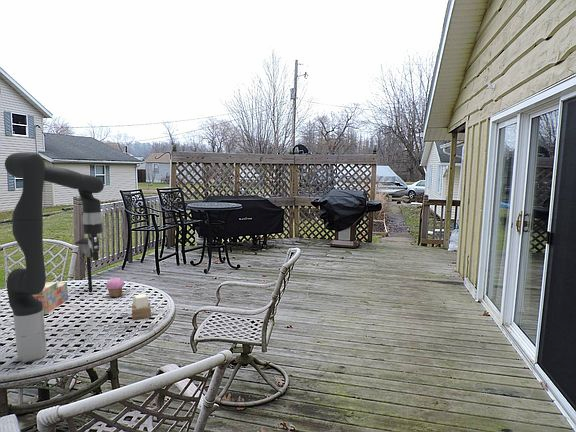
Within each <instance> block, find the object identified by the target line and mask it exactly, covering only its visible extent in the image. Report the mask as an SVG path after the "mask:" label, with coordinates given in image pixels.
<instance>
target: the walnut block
mask: <svg viewBox="0 0 576 432" xmlns="http://www.w3.org/2000/svg"><path fill="white" fill-rule="evenodd" d="M131 315H132V316H131V317H132V319H131V320H132V321H136V320H143V319H151V318H152V313H151V301H148V307H145V308H139V309H137V308H136V307H135V306H134V304H133V303H132V307H131Z"/></svg>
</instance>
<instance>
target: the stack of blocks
mask: <svg viewBox="0 0 576 432" xmlns="http://www.w3.org/2000/svg"><path fill="white" fill-rule="evenodd" d="M67 283H68V282H57V281H56V282H54V281H53V282H51V281H49V282H48V281H47V282H46V283H45V287H44V289H43V290H42V292H41V293H39V294H36V295H33V297H35V298H36V299H38V300H40V301H41V302H42V304H43V314H44V315H47V314H48V313H49V312H52V311H53V310H55V309H56V308H58V307H59V306H60V305H62V304H64V303H65V302H67V301H68V300H69V290H68V284H67Z"/></svg>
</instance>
